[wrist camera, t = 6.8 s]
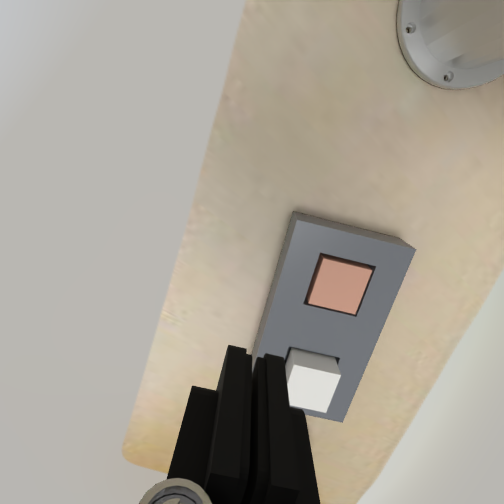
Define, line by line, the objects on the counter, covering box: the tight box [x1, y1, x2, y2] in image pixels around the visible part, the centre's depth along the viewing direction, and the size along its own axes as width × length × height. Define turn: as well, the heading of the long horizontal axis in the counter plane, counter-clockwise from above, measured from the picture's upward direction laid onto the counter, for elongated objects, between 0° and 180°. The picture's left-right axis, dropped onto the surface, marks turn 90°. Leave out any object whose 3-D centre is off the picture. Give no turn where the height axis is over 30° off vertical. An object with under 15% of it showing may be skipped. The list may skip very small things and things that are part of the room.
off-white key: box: [285, 347, 341, 413], centre depth 36 cm, size 5×5×3 cm
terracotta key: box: [306, 253, 372, 314], centre depth 35 cm, size 5×5×3 cm
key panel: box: [251, 212, 416, 423], centre depth 37 cm, size 22×12×4 cm, turn 166°
